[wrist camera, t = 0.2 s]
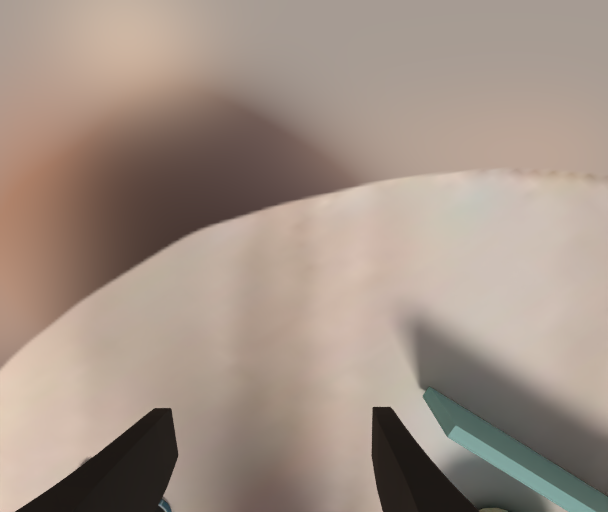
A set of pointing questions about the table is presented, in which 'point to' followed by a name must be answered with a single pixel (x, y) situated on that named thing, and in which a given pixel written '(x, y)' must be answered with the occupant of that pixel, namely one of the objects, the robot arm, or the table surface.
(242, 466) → the table surface
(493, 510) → the sea urchin shell
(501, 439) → the teal plank
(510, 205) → the table surface
